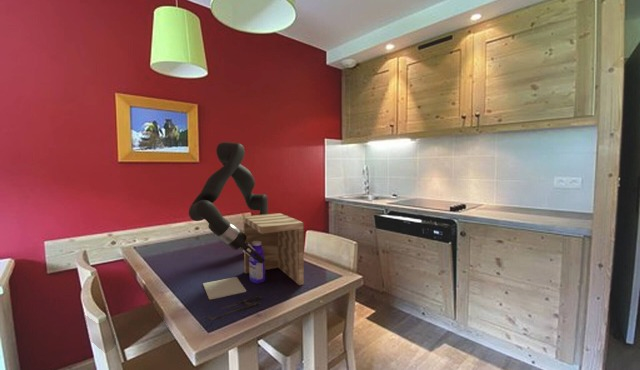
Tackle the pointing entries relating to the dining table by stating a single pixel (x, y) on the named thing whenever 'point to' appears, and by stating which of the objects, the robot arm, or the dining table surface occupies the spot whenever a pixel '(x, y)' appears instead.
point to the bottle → (257, 264)
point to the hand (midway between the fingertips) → (260, 259)
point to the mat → (223, 288)
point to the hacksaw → (239, 308)
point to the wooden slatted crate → (277, 243)
